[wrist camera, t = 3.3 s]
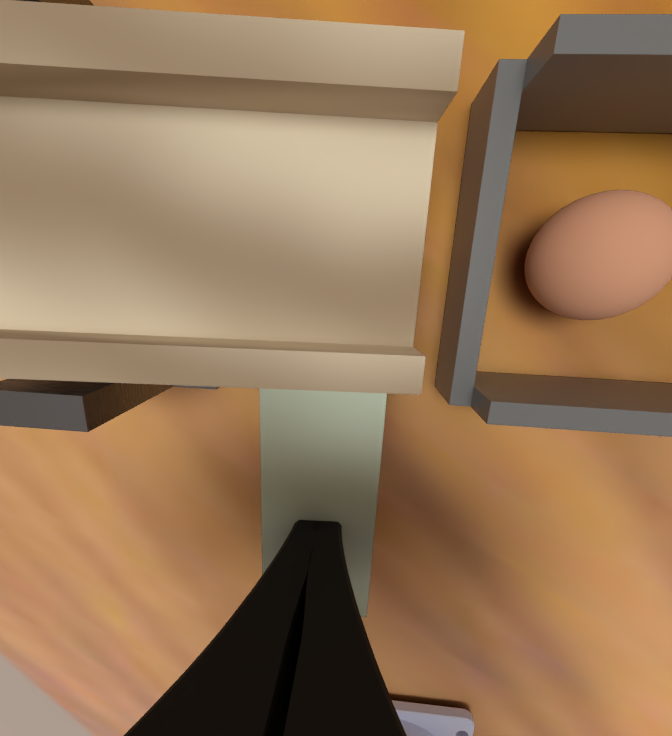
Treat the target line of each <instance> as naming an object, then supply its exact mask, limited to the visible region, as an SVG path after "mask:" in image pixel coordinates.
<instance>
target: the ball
mask: <svg viewBox="0 0 672 736" xmlns="http://www.w3.org/2000/svg"><path fill="white" fill-rule="evenodd" d="M525 278H526V282H527V285H528V288H529V290H530V292H531V293H532V295H533V296H534V298H535V299H536V300H537V301H538V302H539V303H540V304H541V305H542V306H544V307H545V308H546V309H548V310H550V311H551V312H553V313H555V314H558V315H560V316H563V317H567V318H571V319H579V320H597V319H605V318H610V317H614V316H617V315H620V314H623V313H626V312H628V311H631V310H633V309H635V308H637V307H639V306H641V305H642V304H644V303H645V302H647V301H648V300H650V299H651V298H653V297H654V296H655V295H656V294H657V293H658V292H660V291H661V290H662V289H663V287H664V286H665V285H666V284H667V283H668V282H669V281H670V279H671V278H672V209H671V208H670V207H669V206H668V205H667V204H666V203H664V202H663V201H661V200H660V199H658V198H656V197H654V196H651V195H649V194H646V193H642V192H638V191H631V190H612V191H604V192H600V193H595V194H591V195H588V196H585V197H583V198H580V199H578V200H576V201H574V202H572V203H570V204H569V205H567V206H565V207H564V208H562V209H561V210H559V211H558V212H557V213H555V214H554V215H553V216H552V217H550V218H549V219H548V220H547V221H546V222H545V223H544V225H543V226H542V227H541V228H540V229H539V231H538V232H537V233H536V235H535V237H534V238H533V240H532V242H531V244H530V246H529V249H528V251H527V255H526V259H525Z"/></svg>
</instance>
